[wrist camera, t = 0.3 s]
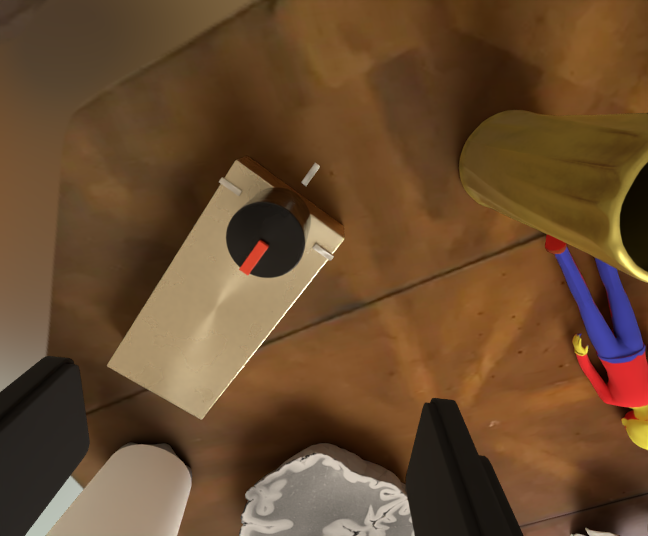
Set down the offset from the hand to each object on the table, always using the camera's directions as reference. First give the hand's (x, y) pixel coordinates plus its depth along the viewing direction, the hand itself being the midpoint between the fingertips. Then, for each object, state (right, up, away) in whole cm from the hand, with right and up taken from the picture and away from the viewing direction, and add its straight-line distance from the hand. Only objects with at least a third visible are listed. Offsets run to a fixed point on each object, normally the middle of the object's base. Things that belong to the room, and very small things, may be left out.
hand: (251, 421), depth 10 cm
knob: (-1, +7, +13) cm, 15 cm away
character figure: (+23, -1, +19) cm, 30 cm away
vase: (+14, +11, +14) cm, 23 cm away
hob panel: (-4, +4, +18) cm, 19 cm away
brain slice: (+3, -19, +26) cm, 33 cm away
